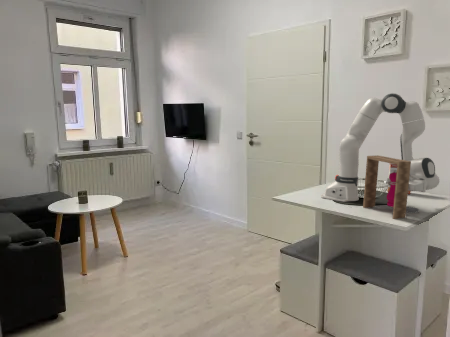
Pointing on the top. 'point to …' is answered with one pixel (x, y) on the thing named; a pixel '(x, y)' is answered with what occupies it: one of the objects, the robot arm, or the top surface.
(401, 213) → the walnut arch
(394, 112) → the robot arm
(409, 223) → the top surface
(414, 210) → the charcoal mat
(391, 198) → the pepper mill
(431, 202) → the top surface
